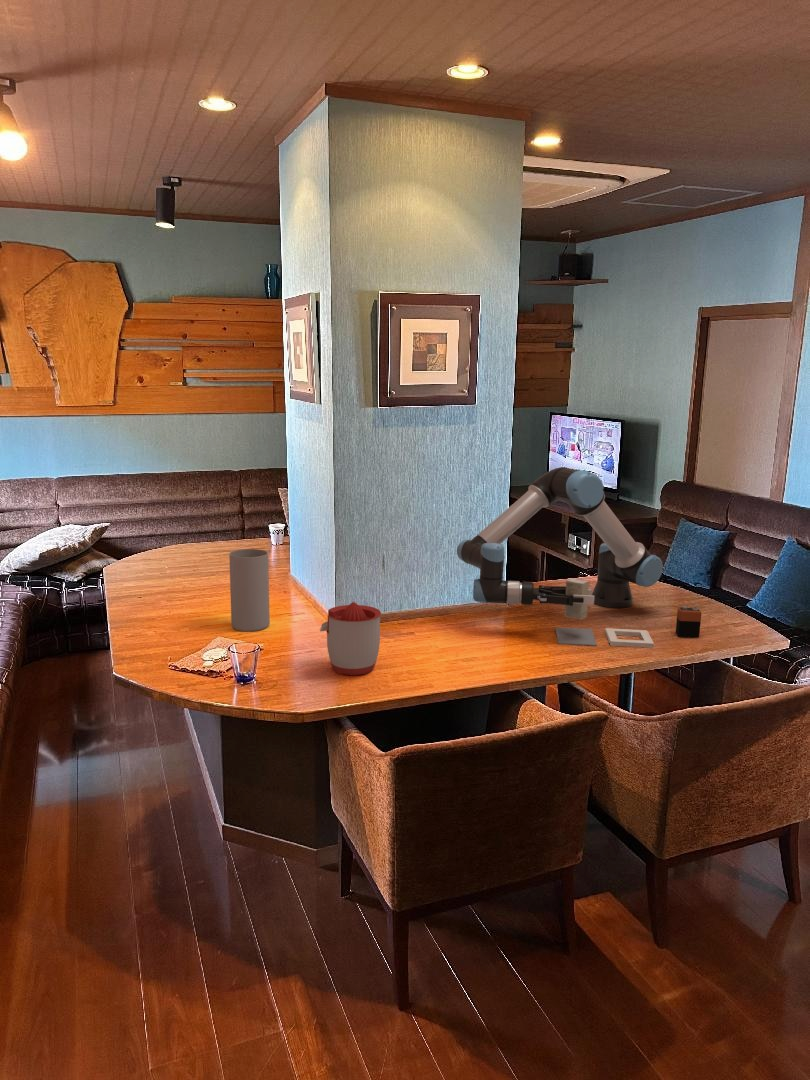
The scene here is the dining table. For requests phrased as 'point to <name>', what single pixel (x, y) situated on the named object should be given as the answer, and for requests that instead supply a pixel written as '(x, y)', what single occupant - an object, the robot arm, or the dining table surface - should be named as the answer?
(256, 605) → the cylinder vase
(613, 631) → the white square frame
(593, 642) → the grey mat
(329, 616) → the citrus juicer
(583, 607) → the skincare box
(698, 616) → the battery
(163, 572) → the dining table surface
